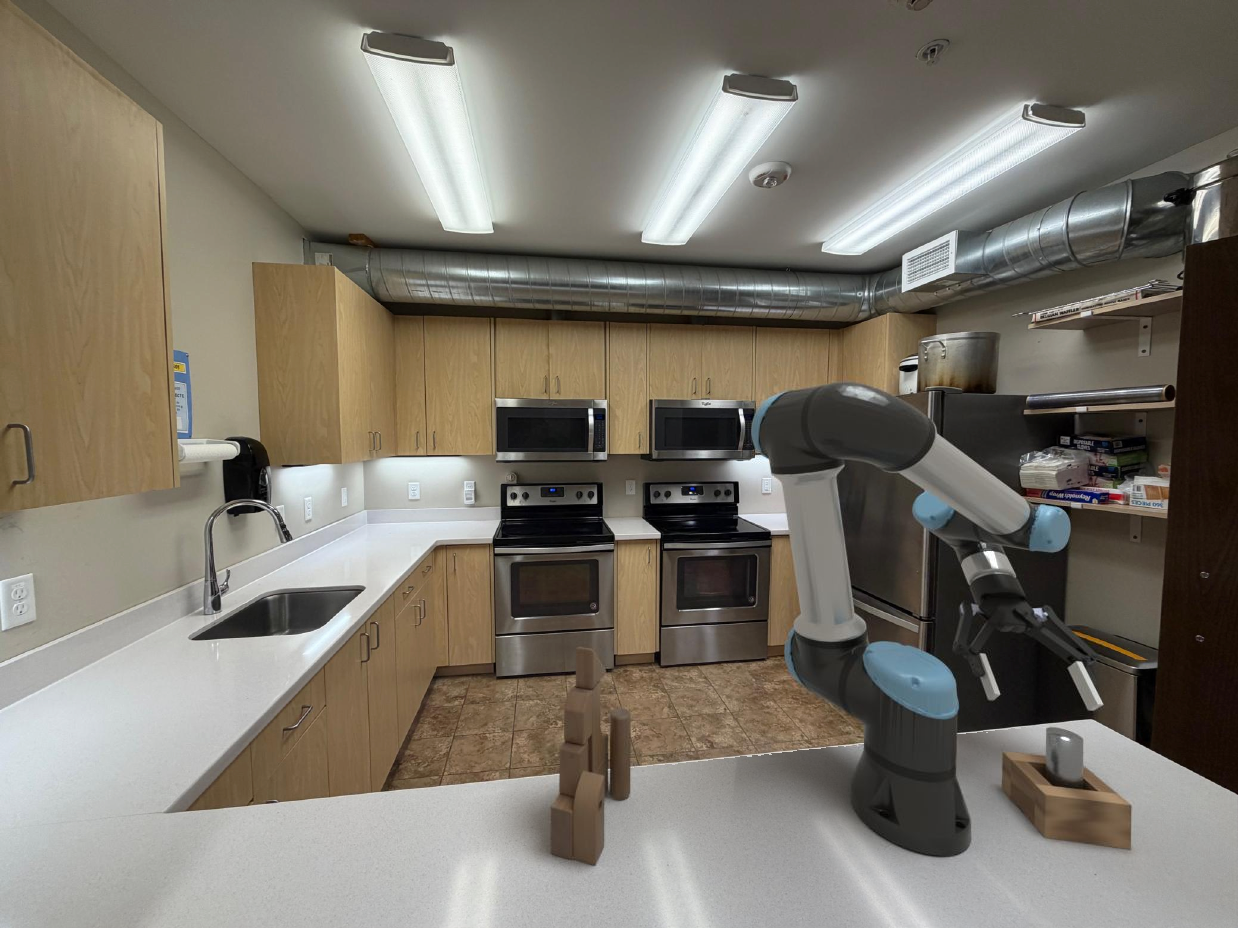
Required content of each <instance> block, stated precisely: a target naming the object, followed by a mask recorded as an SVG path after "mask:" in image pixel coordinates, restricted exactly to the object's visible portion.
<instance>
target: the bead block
mask: <svg viewBox="0 0 1238 928" xmlns="http://www.w3.org/2000/svg"><path fill="white" fill-rule="evenodd" d="M1001 754H1002V757H1001V759H1002V760H1001V761H1002V762H1001V763H1002V764H1001V789H1002V791H1003V792H1004V793H1005V794H1006V795H1007V796H1008V798H1010V800H1011V801H1012V802H1013V803H1014V804H1015V805H1016V806H1017V808H1018V809H1019V810H1020V811H1021V812H1022V813H1023V814H1024V816H1026V818H1027V819H1028V820H1029V821H1030V822H1031V824H1032V825H1033V826H1034V827H1035V828H1036V829H1037V831H1039V833H1040V834H1041V835H1042V836H1043V837H1044V838H1045V839H1051V840H1052V839H1053V840H1060V841H1065V842H1066V841H1067V842H1073V843H1074V842H1075V843H1082V844H1088V845H1098V846H1103V847H1110V848H1111V847H1112V848H1116V849H1117V848H1118V849H1123V850H1124V849H1125V850H1131V849H1132V810H1133V809H1132V804H1131V803H1130V802H1128V801H1127V800H1126V799H1125V798H1123V797H1122V796H1121V795H1120V794H1119V793H1118V792H1116V791H1115V790H1114V789H1113V788H1111V786H1109V785H1108V784H1107V783H1105V782H1104V781H1103V780H1102V779H1100V778H1099V777H1098V776H1097V775H1096V774H1095V773H1093V772H1092V771H1091V770H1090V769H1088V768H1087V767H1086V766H1085V765H1083V790H1081V789H1072V788H1064V787H1055V786H1052V785H1051V784H1050V783H1049V782H1048V781H1047V780H1046V755H1040V754H1032V753H1023V752H1014V751H1013V752H1012V751H1002V753H1001Z"/></svg>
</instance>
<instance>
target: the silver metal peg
mask: <svg viewBox="0 0 1238 928" xmlns="http://www.w3.org/2000/svg"><path fill="white" fill-rule="evenodd" d="M1045 756H1046V780H1047V781H1048V782H1049V783H1050V784H1051V785H1052V786H1055V787H1064V788H1072V789H1081V790H1083V766H1084V739H1083V737H1082V736H1080V735H1079V734H1077V733H1075V732H1073V731H1072V730H1071V731H1070V730H1069V729H1064V728H1061V727H1055V726H1052V727H1051V726H1050V727H1046V729H1045Z"/></svg>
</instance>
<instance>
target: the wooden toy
mask: <svg viewBox="0 0 1238 928" xmlns="http://www.w3.org/2000/svg"><path fill="white" fill-rule="evenodd" d="M605 674H607V670H606V668H605V667H604V665H603V664H602V662H601V660H600V659H599V657H598V656H597V655H596V653H595V651H594V649H592V648H591V647H590V648H589V647H583V646H578V647H576V649H575V685H574V686H572V688H570V690H569V692H568V695H567V698H566V702H565V705H564V708H563V710H564V711H563V740H564V741H563V743H562V744H561V746H559V751H558V752H559V755H558V756H559V757H558V759H559V760H558V761H559V764H558V766H559V767H558V769H559V776H558V778H559V779H558V781H559V782H558V784H559V785H558V786H559V788H558V790H559V791H558V792H559V794H558V795H557V796H556V798H555V800H553V803H552V804H551V806H550V854H551V855H553V856H557V857H560V858H563V859H566V860H570V861H571V860H576V861H579V862H583V863H586V864H587V865H592V866H596V865H597V863H598V861H599V860H600V857H601V854H602V853H603V851H604V848H605V798H606V796H607V794H608V792H609V793H610V796H611V797H612V798H613V799H615V800H618V801H622V800H626V799H627V798H628V797H630V794H631V756H632V755H631V736H632V735H631V732H632V730H631V725H632V724H631V723H632V721H631V717H632V716H631V715H632V714H631V712H630V711H629V710H628V708H622V707H620V708H619V707H616V708H614V709H612V710H611V711H610V714H609V734H608V733H606V732H605V733H604V732H602V728H601V705H602V704H601V703H602V702H601V700H602V698H601V687H602V685H601V679H603V677H604V676H605Z"/></svg>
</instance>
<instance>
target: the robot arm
mask: <svg viewBox="0 0 1238 928" xmlns="http://www.w3.org/2000/svg"><path fill="white" fill-rule="evenodd" d="M937 430H938V429H937V426H936V424H935V423H934V421H933V420H932V419H931V418H930V417H928V415H926V414H924V413H923V412H922V411H920V410H919V409H917V408H916V407H915V406H913V405H912V404H910V403H909V402H906V401H905V400H903V399H902V398H899V397H897V396H895V395H893V394H891V393H889V392H887V391H884V390H882V389H879V388H877V387H874V386H871V385H868V384H864V383H860V382H856V381H854V382H853V381H836V382H830V383H827V384H821V385H817V386H811V387H806V388H805V387H804V388H800V389H792V390H791V389H790V390H787V391H784V392H781V393H777V394H774V395H773V396H771V397H769V398H767V399H766V400H764V401H763V402H762V403H761V404H760V406H759V408H758V409H757V410H756V412H755V413H754V416H753V418H752V423H751V430H750V431H751V440H752V444H753V447H754V448H755V449H756V451H757V452H759V453H760V455H761V456H763V457H764V458H766V459H767V460H768V461H769V467H770V468H769V469H770V475H771V476H773V477H774V478H776V480H778V481H779V482H780V483H781V486H782V493H783V499H784V507H785V514H786V521H787V526H788V533H789V540H790V548H791V555H792V562H793V568H794V575H795V582H796V590H797V596H798V602H799V609H800V614H799V615H798V616H797V617H796V618H795V620H794V621H793V627H791V629H790V631H789V632H788V634H787V636H788V639H787V640H785V642H784V660H785V664H786V667H787V669H788V671H789V673H790V675H791V676H792V677H793V678H794V680H795V681H796V682H798V683H799V684H800V685H801V686H803V687H804V689H806V691H809V692H810V693H811V694H813V695H815V696H817V697H820V698H821V699H823V700H825V701H827V702H828V703H829V704H831V705H833V706H835V707H836V708H838V709H840V710H842V711H843V712H845V713H847V714H848V715H849V716H852V718H854V719H856V720H858V721H859V722H861V723H862V724H863V750H862V753H861V755H860V757H859V760H858V762H857V765H856V767H855V769H854V771H853V774H852V777H851V781H850V801H851V805H852V807H853V809H854V812H855V813H856V814H857V816H858V817H859V818H860V819H861V820H862V821H863V823H864V824H866V825H867V826H868V827H869V828H870V829H871V830H873V831H874V832H875V833H877V834H878V835H879V836H880V837H883V838H884V839H886V840H888V841H889V842H892V843H894V845H898V846H899V847H902V848H904V849H907V850H911V851H913V852H917V853H921V854H926V855H932V856H941V857H944V856H953V855H957V854H960V853H961V852H964V851H966V850H967V848H969V845H970V844H971V842H972V819H971V815H970V812H969V809H968V806H967V804H966V800H965V798H964V795H963V792H962V788H961V785H960V783H959V780H958V777H957V752H958V751H957V746H958V743H957V742H958V735H957V734H958V712H959V709H960V704H959V699H958V692H957V690H958V689H957V682H956V678H955V677H954V675H953V673H952V671H951V669H950V668H949V667H948V666H947V665H946V664H945V663H944V662H943V661H942V660H940V659H938V658H937V657H935V656H934V655H933V654H930V653H929V652H926V651H924V650H922V649H919V648H917V647H915V646H912V645H903V644H901V643H900V642H893V641H883V640H882V641H875V642H871V643H870V642H869V636H868V631H867V630H868V628H867V623H866V621H865V620H864V619H863V618H862V617H861V616H859V615H858V614H857V613H855V606H854V600H853V593H852V591H853V590H852V584H851V577H850V570H849V564H848V562H849V561H848V555H847V549H846V542H845V541H846V540H845V534H844V533H845V532H844V526H843V519H842V511H841V505H840V497H839V490H838V483H837V476H838V474H840V472H841V471H842V469H843V468H844V467H845V460H849V461H850V460H852V461H858V462H863V463H868V464H871V465H873V466H875V467H877V468H878V469H880V470H881V471H883V472H886V473H890V474H895V473H896V474H897V473H899V474H900V475H901V476H903V477H905V478H906V479H907V480H910V481H911V482H912V483H914V484H915V485H916V486H918V487H920V488H921V489H923V490H924V492H923V493H921V494H919V495H918V496H917V497H916V499H915V500H914V502H913V504H912V509H911V510H912V511H911V513H912V515H913V517H914V519H915V521H917V522H918V523H919V524H920V525H921V526H922V527H923V528H924V529H926V530H927V531H929V532H931V533H932V534H933V535H935V536H936V537H938V538H939V539H941V540H942V541H943V542H944V543H946V544H947V545H949V546H950V547H951V548H953V550H954V551H955V553H956V556H957V559H958V561H959V563H960V566H961V568H962V572H963V574H964V577H965V580H966V582H967V584H968V585H969V589H970V592H971V595H972V597H973V600H974V602H975V603H971V601H970V600H967V599H965V600H963V602H961V604H960V605H959V607H958V613H959V615H960V616H959V621H958V625H957V630H956V632H955V638H954V641H953V645H952V652H953V653H954V654H956V655H959V654H961V655H963V658H964V659H965V660H966V661H968V662H969V665H970V667H971V670H972V674H973V675H974V676H975V677H977V678H980V681H981V683H982V687H983V689H984V692H985V695H986V697H987V700H988V701H995V700H996V699H997V698H998V697H999V696H1000V695H1001V693H1000V690H999V687H998V684H997V682H996V679H995V675H994V673H993V671H992V668H991V666H990V662H989V660H988V657H987V655H986V653H979V652H980V651H981V649H982V648H983V646H984V645H985V643H986V641H988V638H989V637H990V636H991V635H992V632H993V631H994V630H995V629H996V630H999V632H1002V633H1004V632H1005V633H1006V632H1012V633H1016V634H1017V633H1018V634H1021V633H1024V634H1025V635H1027V636H1028V637H1031V638H1033V639H1035V640H1036V641H1038V642H1039V643H1040V644H1042V645H1043V646H1045V647H1046V648H1048V649H1049V650H1050V651H1051V652H1053V653H1054V654H1055V655H1057V656H1058V657H1060V658H1061V659H1062V660H1064V661H1065V662H1066V663H1068V664H1069V666H1068V667H1067V670H1068V672H1069V675H1070V677H1071V678H1072V680H1073V683H1074V684H1075V686H1076V688H1077V690H1078V693H1079V695H1080V696H1081V699H1082V700H1083V703H1084V705H1085V707H1086V709H1087V711H1095V710H1098V709H1099V708H1101V707H1102V706H1104V703H1103V701H1102V698H1101V697H1100V695H1099V692H1098V691H1097V689H1096V687H1095V686H1097V685H1098V684H1097V683H1098V682H1097V679H1096V677H1095V675H1094V673H1093V671H1092V670H1091V667H1090V666H1091V665H1092V664H1093V663H1094V662H1096V661H1097V660H1099V659H1100V656H1099V654H1098V653H1097V652H1096V651H1095V650H1094V649H1092V648H1091V647H1090V646H1089V645H1088V644H1087V643H1086V642H1085V641H1084V640H1083V639H1082V638H1081V637H1079V635H1077V634H1076V633H1075V632H1074V631H1073V630H1072V629H1071V628H1070V627H1068V626H1067V625H1066V624H1065V623H1064V622H1063V621H1062V620H1061V618H1060V619H1059V617H1058V616H1057V614H1056V613H1055V611H1054V610H1053V608H1052V607H1051V606H1049V605H1047V604H1045V605H1043V606H1042V607H1037V608H1032V606H1030V605H1029V604H1028V602H1027V599H1026V595H1025V592H1024V589H1023V588H1022V585H1021V584H1020V582H1019V580H1018V578H1017V574H1016V572H1015V571H1014V568H1013V567H1012V564H1011V562H1010V560H1009V559H1008V556H1007V554H1006V552H1005V551H1004V548H1003V547H1009V548H1013V549H1014V548H1016V549H1019V550H1020V549H1021V550H1027V551H1031V552H1035V551H1037V552H1046V553H1055V552H1057V553H1058V552H1059V551H1061V550H1062V549H1064V548H1065V547H1066V545H1067V544H1068V541H1069V538H1070V535H1071V532H1072V531H1071V521H1070V517H1069V515H1068V514H1067V512H1066V511H1065V510H1063V509H1062V508H1061V507H1058V506H1054V505H1053V506H1052V505H1046V504H1033V503H1031V502H1030V501H1028V500H1026V499H1025V498H1024V497H1023V496H1021V495H1020V494H1019V493H1018V492H1016V491H1015V490H1013V489H1012V488H1011V487H1009V486H1008V485H1007V484H1005V483H1004V482H1002V481H1001V479H998V478H997V477H996V476H995V475H993V474H992V473H990V471H988V470H987V469H985V468H984V467H982V466H981V465H980V464H979V463H977V462H976V461H974V460H973V459H972V458H970V457H969V456H968V455H967V454H965V453H964V452H963V451H961V450H960V449H959V448H957V447H956V446H954V445H953V444H952V443H951V442H949V441H948V440H947V439H946V438H944V437H942V435H940V434H938V431H937ZM976 613H977V615H979V616H980V617H981V618H982V619H984V620H985V621H986V622H985V623H984V624H983V626H982V627H981V629H980V631H979V632H978V633H977V635H976V637H975V638H974V640H973V641H972V642H971V644H970V645H968V644H967V641H968V638H969V633H970V630H971V625H972V620H973V617H974V616H975V615H976ZM1030 625H1031V626H1032V628H1031V627H1030Z"/></svg>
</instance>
